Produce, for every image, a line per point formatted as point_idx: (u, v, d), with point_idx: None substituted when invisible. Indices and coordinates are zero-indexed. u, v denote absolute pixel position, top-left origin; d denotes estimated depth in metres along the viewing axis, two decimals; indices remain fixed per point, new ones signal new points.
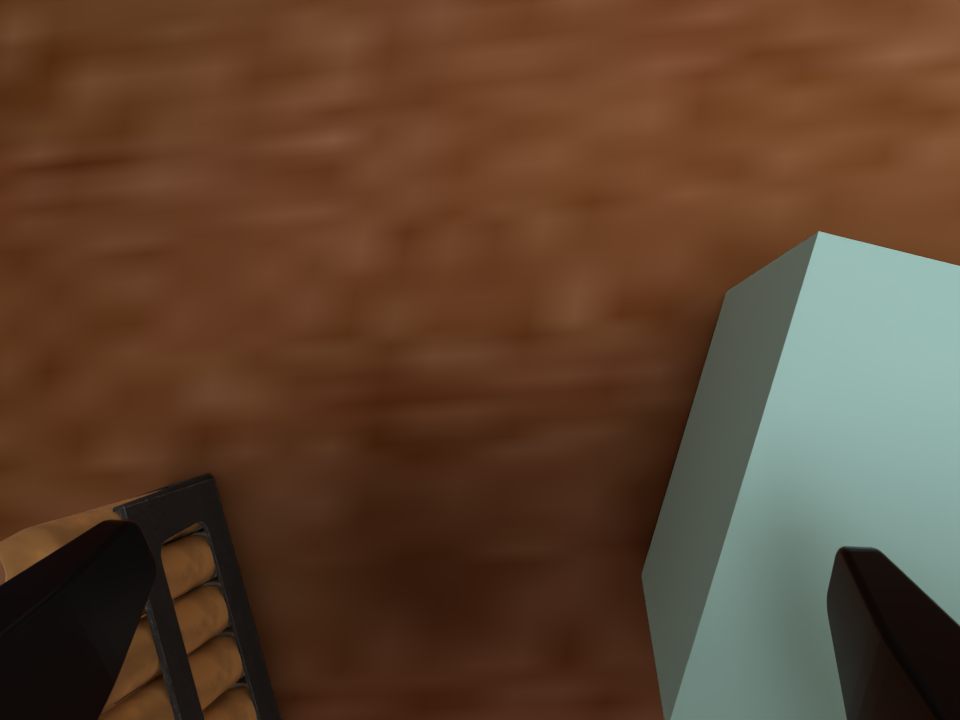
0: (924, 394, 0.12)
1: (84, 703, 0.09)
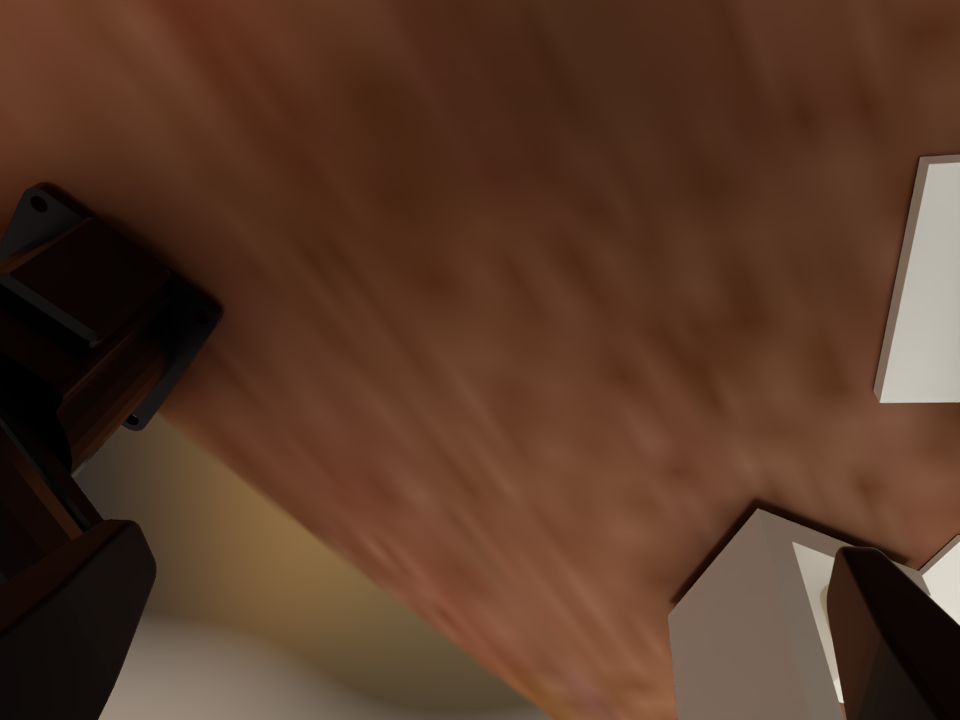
0: None
1: (84, 703, 0.09)
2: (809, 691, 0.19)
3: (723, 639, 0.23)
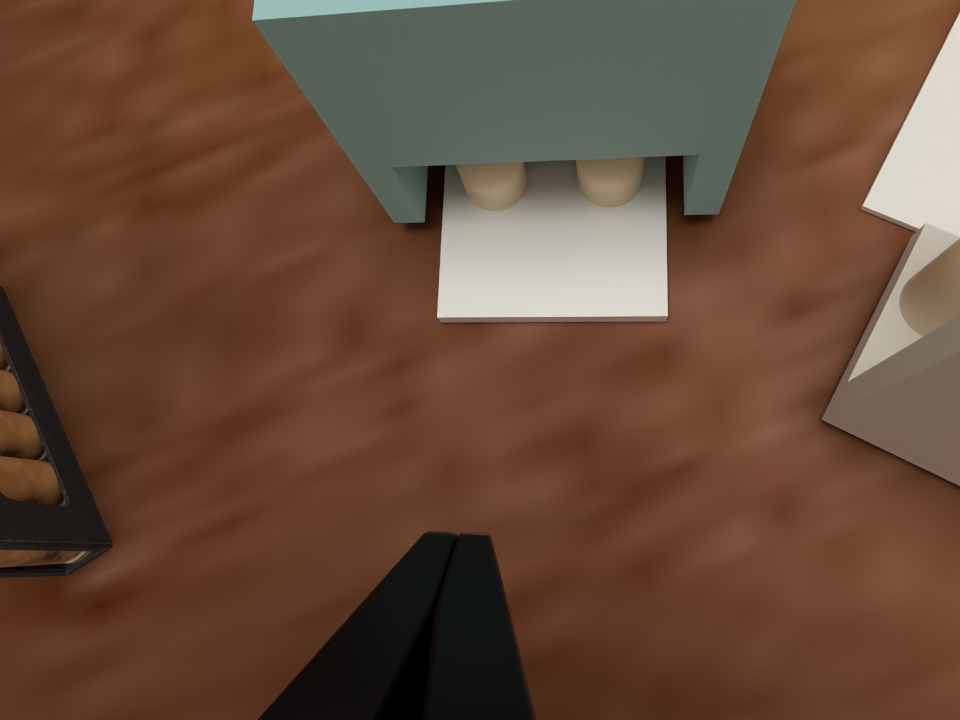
0: None
1: None
2: (918, 366, 0.15)
3: None
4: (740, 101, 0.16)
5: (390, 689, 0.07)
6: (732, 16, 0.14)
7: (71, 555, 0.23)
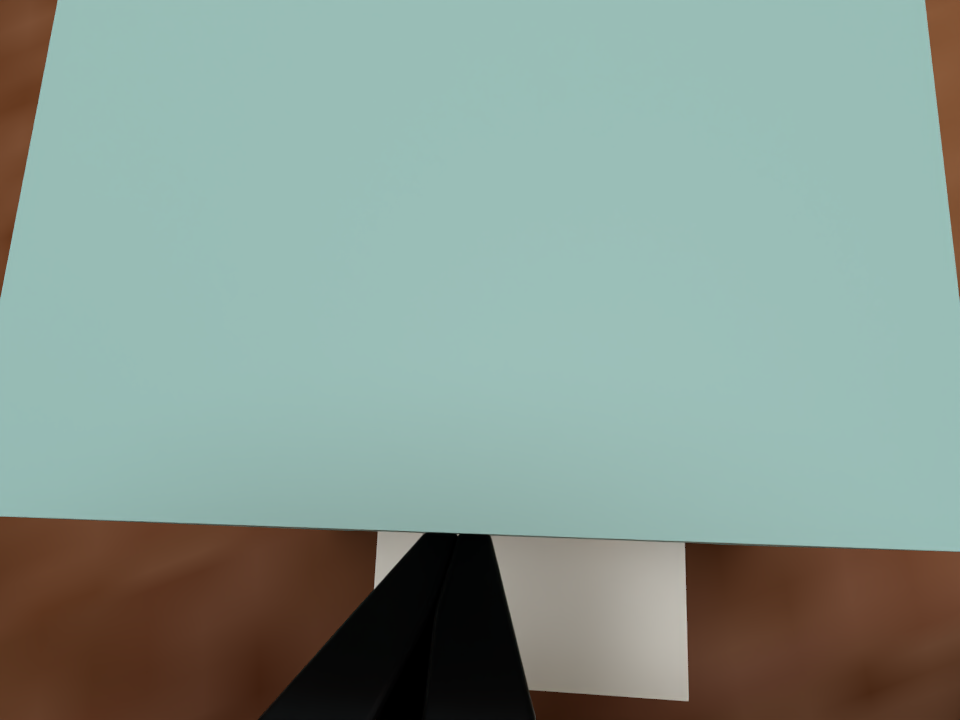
0: None
1: None
2: None
3: None
4: None
5: (390, 689, 0.07)
6: None
7: None
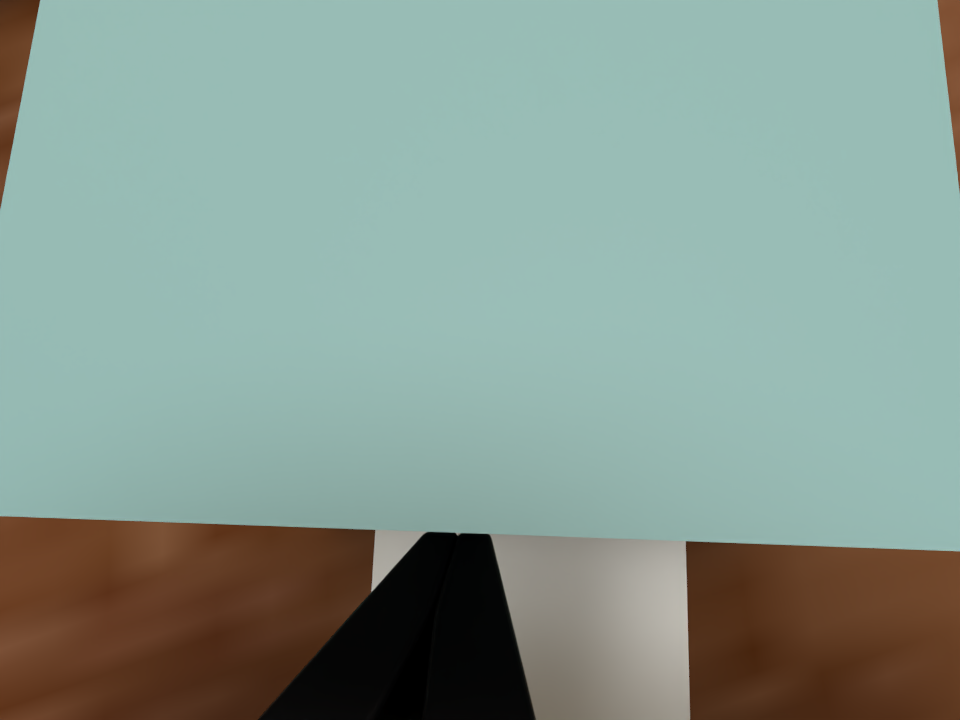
0: None
1: None
2: None
3: None
4: None
5: (390, 689, 0.07)
6: None
7: None
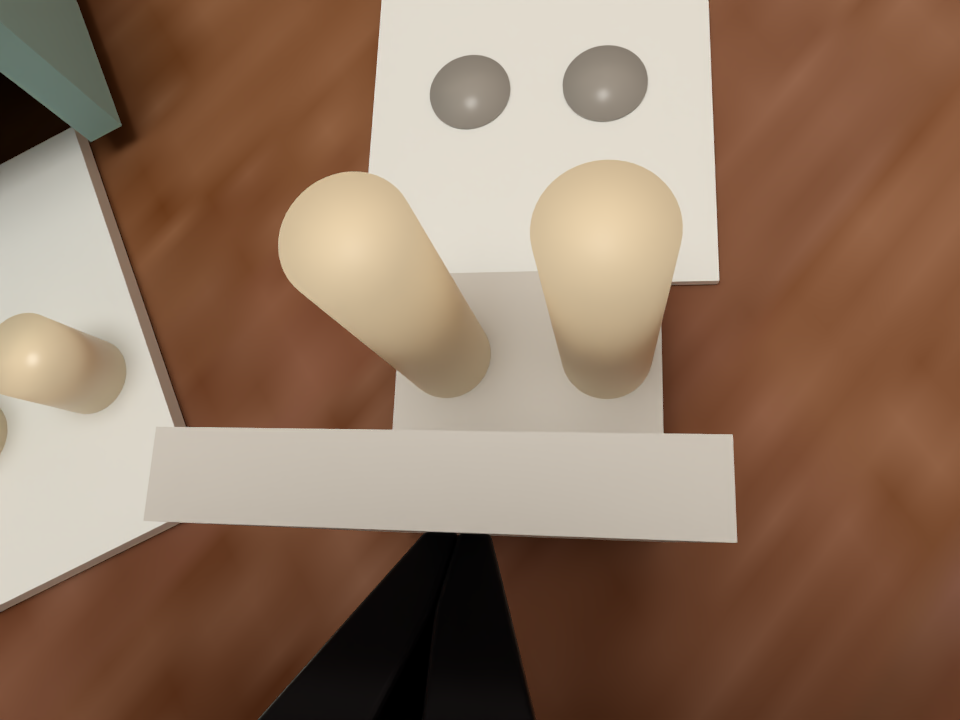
0: None
1: None
2: None
3: None
4: None
5: (390, 689, 0.07)
6: None
7: None
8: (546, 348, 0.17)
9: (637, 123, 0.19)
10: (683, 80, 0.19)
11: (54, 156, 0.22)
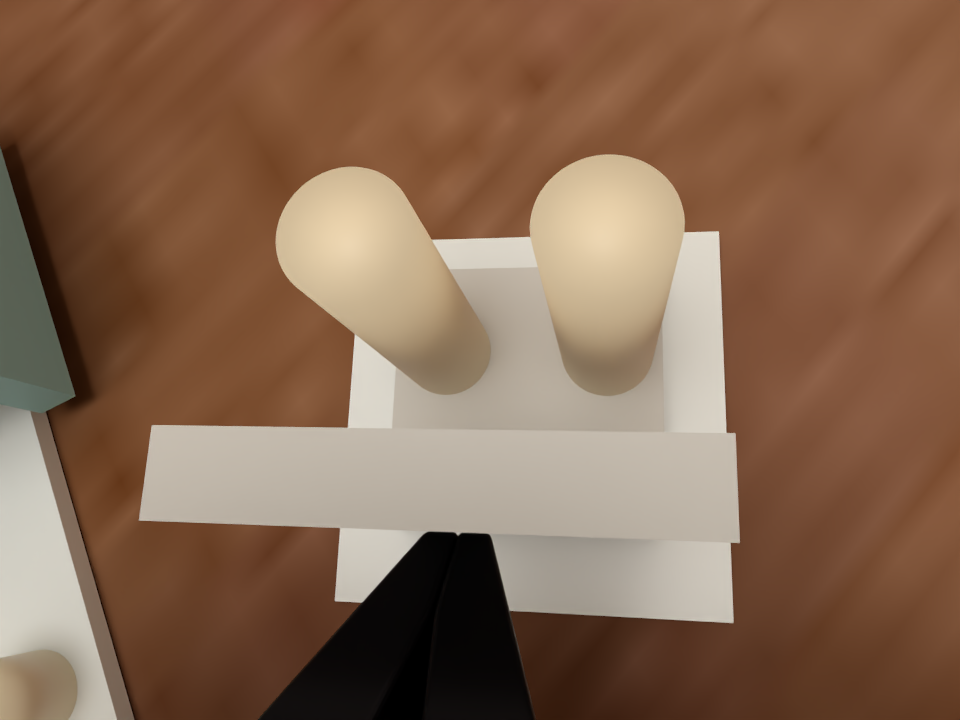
0: None
1: None
2: None
3: None
4: None
5: (390, 689, 0.07)
6: None
7: None
8: (546, 345, 0.17)
9: None
10: (693, 374, 0.17)
11: (3, 422, 0.20)
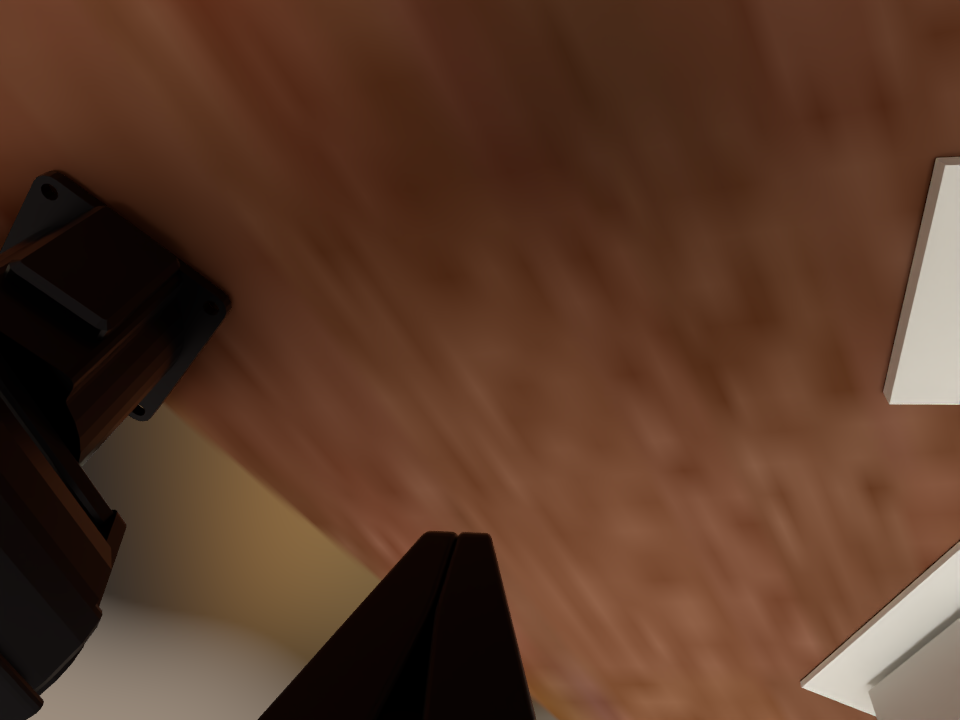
0: None
1: None
2: None
3: None
4: None
5: (390, 689, 0.07)
6: None
7: None
8: None
9: None
10: None
11: None
